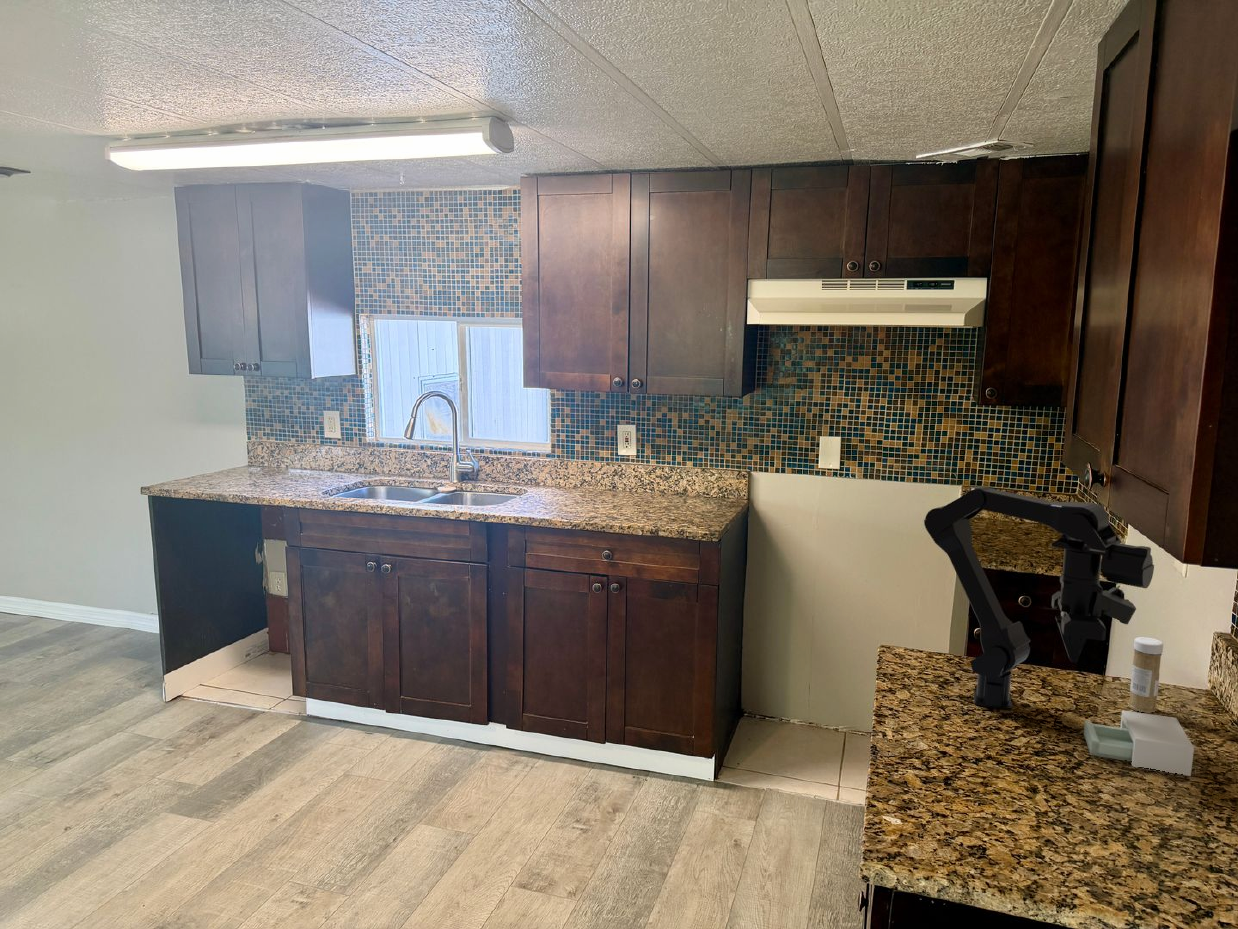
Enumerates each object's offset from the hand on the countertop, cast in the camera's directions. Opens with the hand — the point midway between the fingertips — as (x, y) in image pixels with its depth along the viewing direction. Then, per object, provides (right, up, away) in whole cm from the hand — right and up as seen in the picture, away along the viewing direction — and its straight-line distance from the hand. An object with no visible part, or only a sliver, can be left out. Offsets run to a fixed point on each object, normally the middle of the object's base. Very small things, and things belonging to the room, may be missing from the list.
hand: (1073, 661), depth 150 cm
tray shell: (+5, -13, -7) cm, 16 cm away
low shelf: (+9, -14, -9) cm, 18 cm away
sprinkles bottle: (+18, -11, +9) cm, 23 cm away
